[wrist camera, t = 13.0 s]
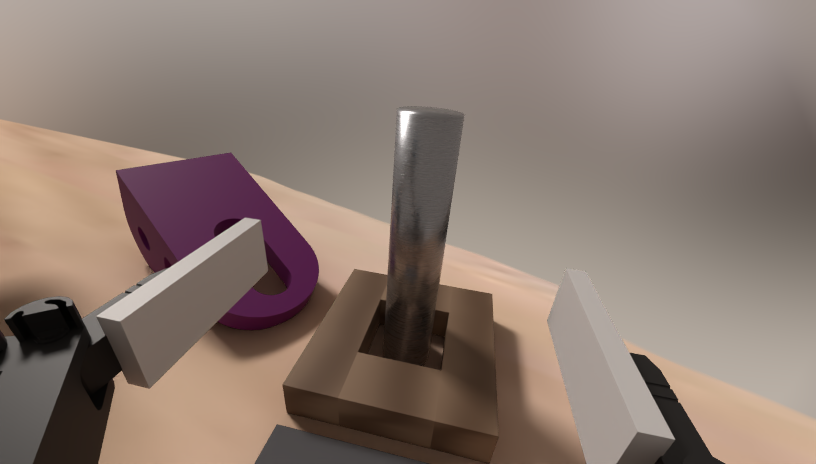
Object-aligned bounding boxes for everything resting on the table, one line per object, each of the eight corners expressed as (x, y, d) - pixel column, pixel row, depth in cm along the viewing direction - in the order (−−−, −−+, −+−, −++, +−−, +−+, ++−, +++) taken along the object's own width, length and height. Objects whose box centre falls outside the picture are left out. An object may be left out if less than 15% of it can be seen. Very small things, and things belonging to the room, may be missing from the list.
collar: (286, 412, 20) (282, 384, 19) (354, 291, 30) (354, 269, 29) (489, 463, 18) (498, 436, 17) (486, 316, 29) (492, 293, 27)
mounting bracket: (317, 325, 34) (226, 209, 39) (340, 281, 29) (231, 152, 34) (226, 385, 28) (129, 235, 32) (232, 342, 22) (115, 170, 27)
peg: (377, 364, 23) (389, 112, 15) (389, 330, 26) (404, 104, 18) (425, 375, 23) (462, 120, 15) (431, 339, 26) (465, 110, 18)
